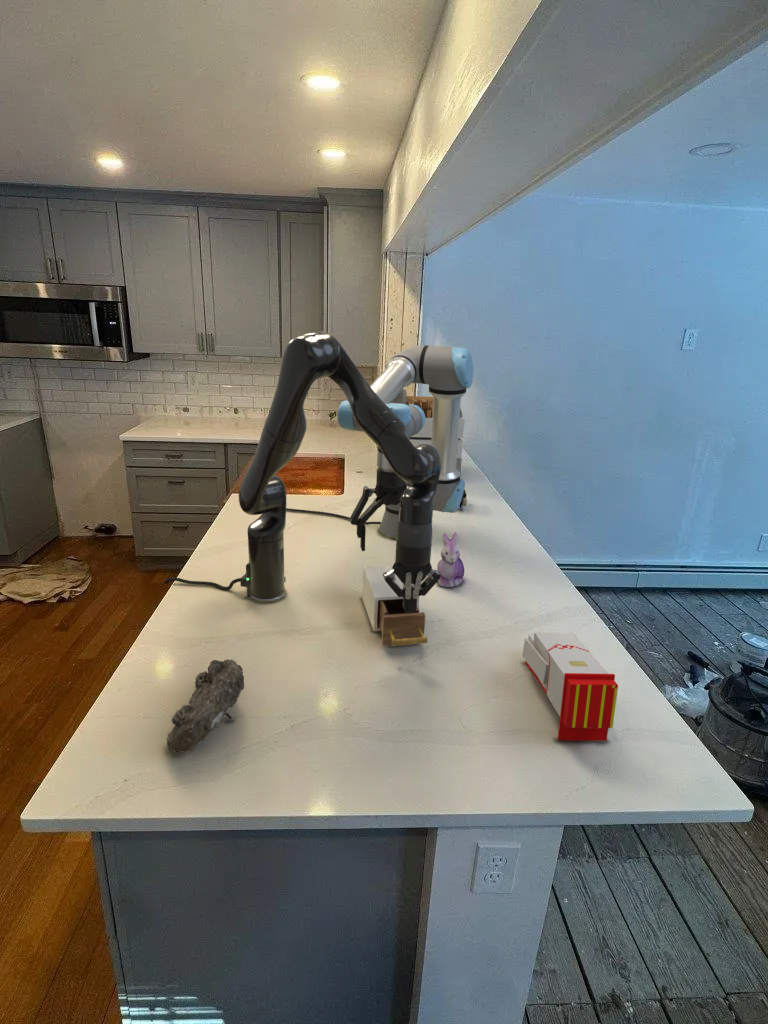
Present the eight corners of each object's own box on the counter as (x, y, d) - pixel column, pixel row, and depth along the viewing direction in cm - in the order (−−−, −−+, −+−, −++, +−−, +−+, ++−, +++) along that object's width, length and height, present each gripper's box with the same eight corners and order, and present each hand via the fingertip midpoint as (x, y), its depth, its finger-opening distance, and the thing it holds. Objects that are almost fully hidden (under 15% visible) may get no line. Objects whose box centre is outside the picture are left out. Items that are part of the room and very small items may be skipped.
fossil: (192, 660, 117) (244, 628, 112) (224, 691, 120) (276, 661, 115) (142, 746, 98) (202, 712, 93) (182, 779, 101) (242, 748, 96)
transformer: (382, 463, 289) (386, 382, 275) (445, 464, 293) (451, 384, 279) (390, 482, 257) (394, 392, 243) (460, 483, 261) (468, 394, 247)
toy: (569, 616, 131) (627, 681, 101) (563, 669, 133) (618, 748, 104) (517, 615, 130) (560, 680, 101) (512, 669, 133) (553, 747, 104)
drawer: (430, 657, 128) (432, 628, 126) (387, 660, 126) (389, 631, 124) (407, 609, 148) (409, 583, 146) (370, 611, 146) (371, 585, 144)
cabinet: (417, 628, 141) (419, 595, 138) (373, 631, 139) (374, 597, 136) (401, 595, 157) (403, 565, 154) (362, 598, 155) (363, 567, 151)
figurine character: (467, 515, 225) (461, 499, 238) (469, 498, 221) (463, 482, 235) (450, 514, 224) (445, 498, 238) (452, 497, 221) (447, 482, 234)
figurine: (445, 591, 160) (450, 542, 155) (426, 576, 169) (430, 529, 164) (473, 585, 164) (478, 537, 159) (453, 571, 173) (457, 525, 168)
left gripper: (387, 547, 115) (383, 622, 121) (449, 545, 118) (442, 618, 123) (379, 533, 122) (376, 605, 128) (439, 531, 124) (433, 601, 130)
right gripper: (343, 473, 133) (342, 556, 140) (445, 471, 138) (439, 551, 145) (339, 464, 139) (338, 543, 147) (436, 463, 144) (431, 539, 152)
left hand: (409, 611), depth 126 cm, fingers closed
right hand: (388, 547), depth 146 cm, fingers open, 13 cm apart
